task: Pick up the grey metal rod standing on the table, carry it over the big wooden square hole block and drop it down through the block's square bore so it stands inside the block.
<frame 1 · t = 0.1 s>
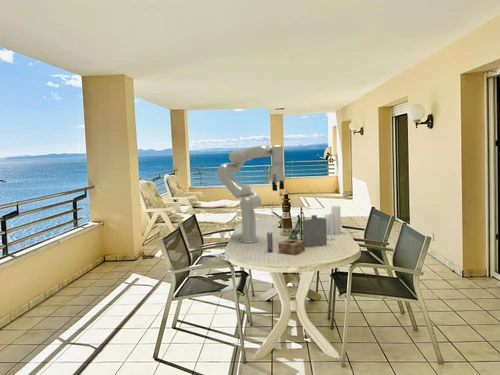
hand: (278, 189, 260), 37 cm above the table, tool pointing down, fingers open, 9 cm apart
wooden square hole block: (291, 251, 245), on the table
grey metal rod: (270, 251, 246), on the table
vase: (332, 234, 290), on the table
hip flask: (314, 245, 258), on the table
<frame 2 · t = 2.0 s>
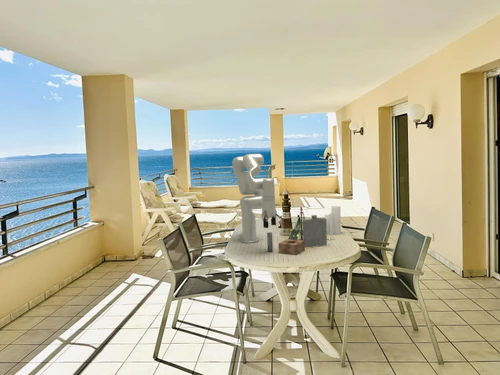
hand: (269, 226, 244), 16 cm above the table, tool pointing down, fingers open, 9 cm apart
nothing on the table moved.
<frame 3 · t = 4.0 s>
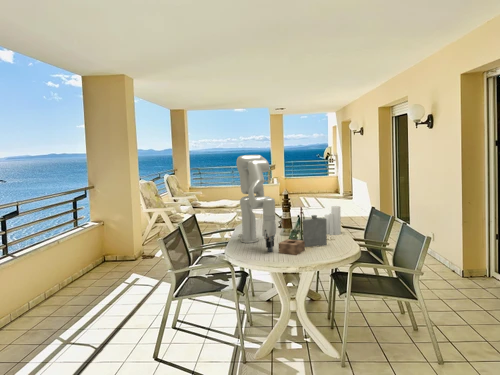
hand: (270, 246, 245), 3 cm above the table, tool pointing down, fingers closed on grey metal rod, 3 cm apart
grey metal rod: (270, 251, 246), on the table, touching gripper
everything else where it was.
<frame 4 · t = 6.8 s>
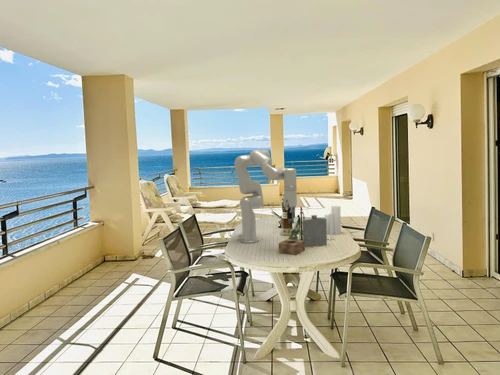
hand: (291, 217, 242), 21 cm above the table, tool pointing down, fingers closed on grey metal rod, 3 cm apart
grey metal rod: (291, 223, 243), point 18 cm above the table, touching gripper
everything else where it was.
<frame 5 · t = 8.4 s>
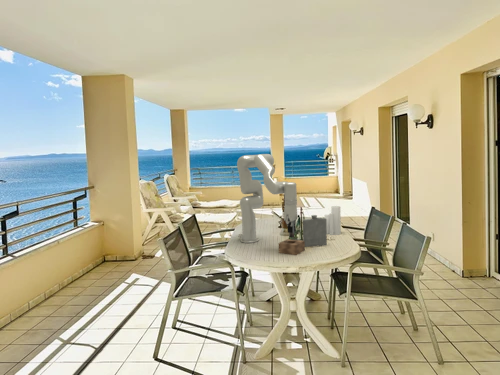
hand: (291, 231, 243), 13 cm above the table, tool pointing down, fingers closed on grey metal rod, 3 cm apart
grey metal rod: (291, 236, 243), point 9 cm above the table, touching gripper
everything else where it was.
when the fingers open (8 cm above the table, at t = 9.6 s): grey metal rod drops 4 cm, resting in wooden square hole block.
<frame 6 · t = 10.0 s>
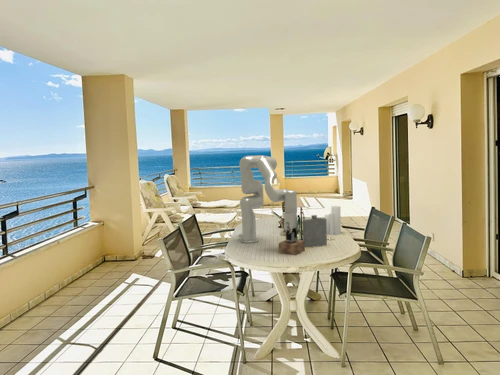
hand: (291, 238, 244), 8 cm above the table, tool pointing down, fingers open, 7 cm apart
grey metal rod: (291, 251, 245), resting in wooden square hole block
everything else where it was.
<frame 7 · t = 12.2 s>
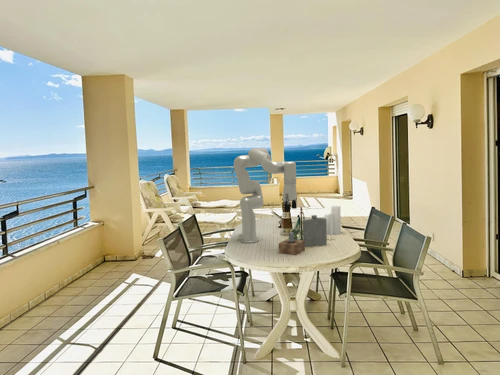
hand: (290, 209, 242), 26 cm above the table, tool pointing down, fingers open, 9 cm apart
nothing on the table moved.
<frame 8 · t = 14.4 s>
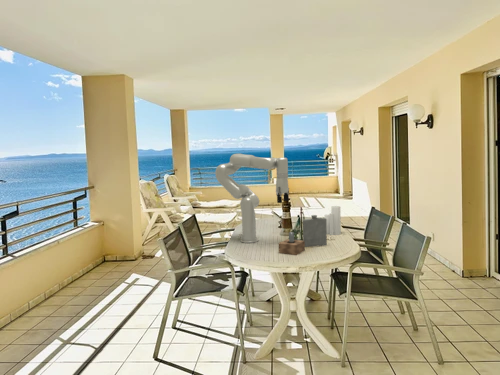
hand: (282, 201, 263), 28 cm above the table, tool pointing down, fingers open, 9 cm apart
nothing on the table moved.
at the end: grey metal rod 0.1 cm from the wooden square hole block (horizontally); grey metal rod resting in wooden square hole block; grey metal rod tilted 0° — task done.
